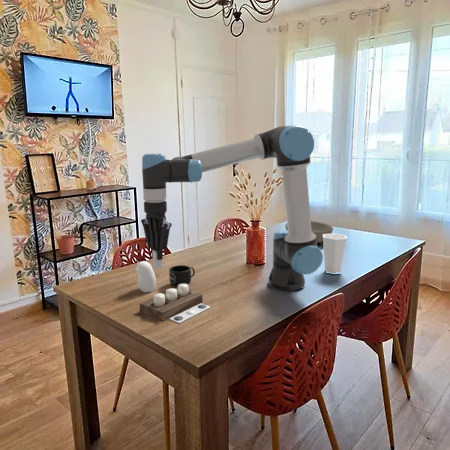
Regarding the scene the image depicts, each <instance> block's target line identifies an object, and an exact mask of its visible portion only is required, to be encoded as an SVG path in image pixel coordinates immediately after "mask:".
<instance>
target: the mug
mask: <svg viewBox="0 0 450 450" xmlns="http://www.w3.org/2000/svg"><path fill="white" fill-rule="evenodd" d="M168 272H169V273H168V274H169V275H168V276H169V277H168V278H169V283H170V284H171V285H172V286H173V287H176V288H178V285H179V284H188V285H189V284H191V282H192V281H191V280H192V278H193V277H195V273H196V271H195V268H194V267H193V266H188V265H184V264H180V265H178V264H177V265H173V266H171V267H169V269H168Z"/></svg>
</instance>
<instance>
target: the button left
mask: <svg viewBox="0 0 450 450" xmlns="http://www.w3.org/2000/svg"><path fill="white" fill-rule="evenodd" d="M152 298H153V301H154V306H155V307H157V308H160V307H162V306H165V295H164V293H160V292H159V293H155V294H153V295H152Z"/></svg>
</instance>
